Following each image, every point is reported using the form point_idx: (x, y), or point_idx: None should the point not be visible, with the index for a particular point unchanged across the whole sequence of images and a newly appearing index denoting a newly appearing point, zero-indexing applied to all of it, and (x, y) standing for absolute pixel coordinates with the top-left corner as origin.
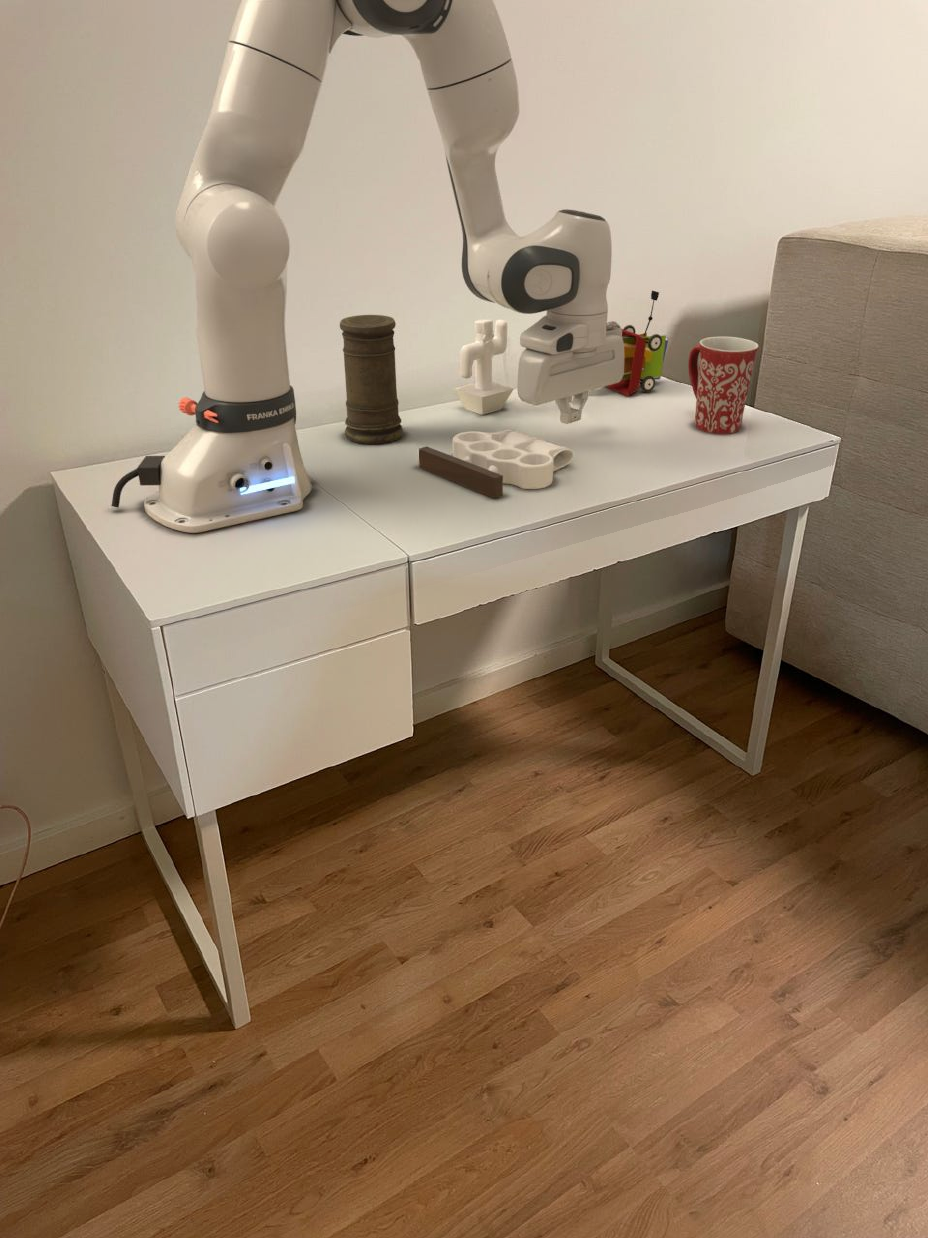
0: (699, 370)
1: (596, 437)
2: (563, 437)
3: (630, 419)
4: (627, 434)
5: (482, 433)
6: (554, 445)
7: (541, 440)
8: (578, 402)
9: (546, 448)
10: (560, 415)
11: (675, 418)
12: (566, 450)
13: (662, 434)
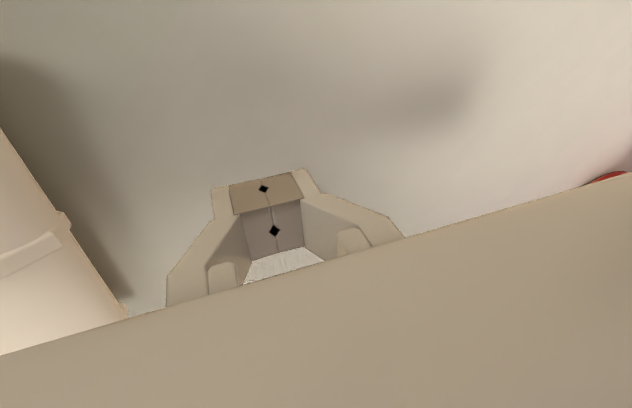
0: None
1: (370, 135)
2: (278, 65)
3: (579, 52)
4: (450, 160)
5: None
6: (52, 338)
7: (12, 285)
8: (330, 247)
9: (3, 345)
10: (212, 205)
11: (621, 122)
12: (112, 322)
13: (495, 199)
